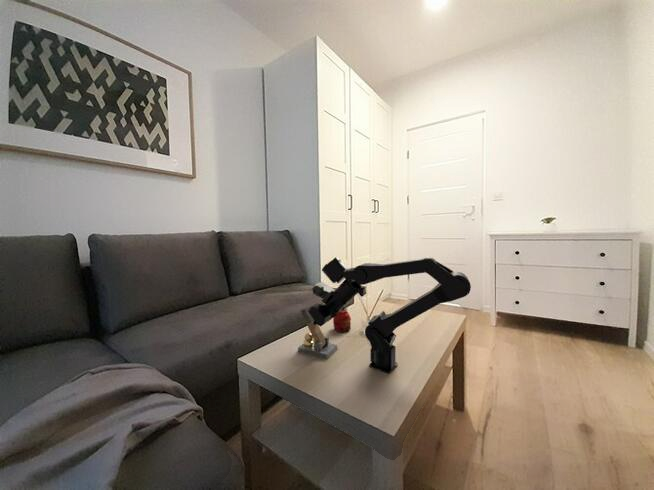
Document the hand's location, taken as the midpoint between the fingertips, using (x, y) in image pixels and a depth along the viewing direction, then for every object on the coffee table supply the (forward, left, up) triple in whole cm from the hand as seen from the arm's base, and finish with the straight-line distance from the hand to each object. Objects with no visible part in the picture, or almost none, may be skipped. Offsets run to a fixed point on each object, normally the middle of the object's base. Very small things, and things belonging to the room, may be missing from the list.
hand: (314, 323), depth 85 cm
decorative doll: (+3, -20, -9) cm, 23 cm away
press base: (-1, 0, -9) cm, 9 cm away
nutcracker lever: (-3, 0, -7) cm, 7 cm away
